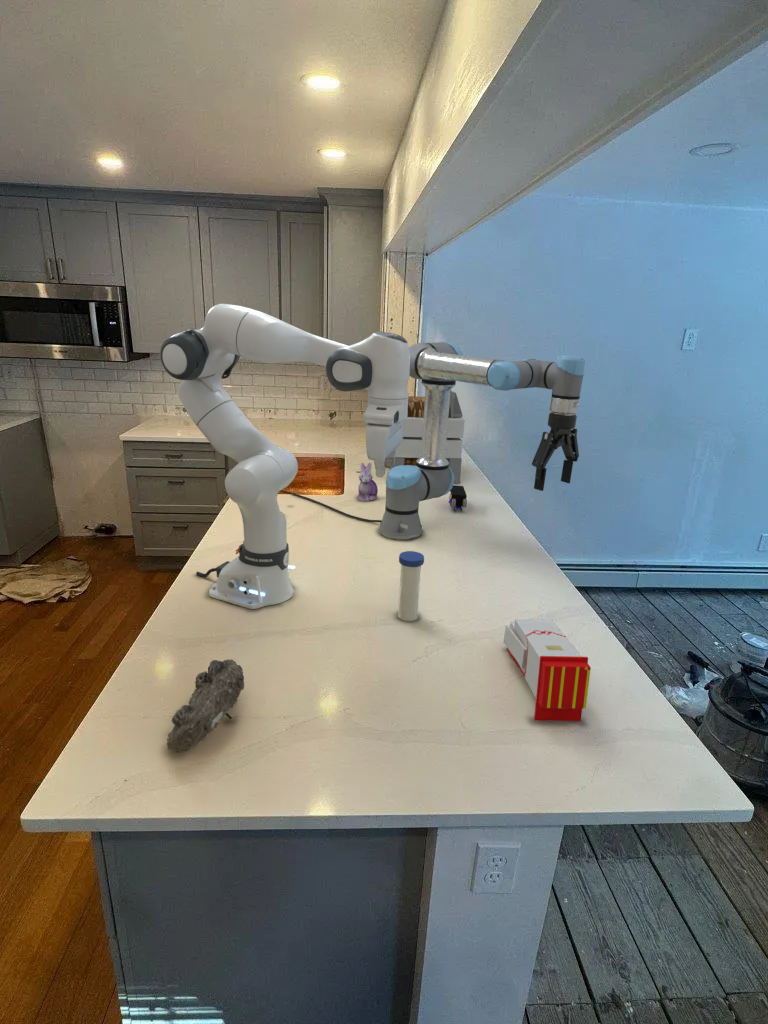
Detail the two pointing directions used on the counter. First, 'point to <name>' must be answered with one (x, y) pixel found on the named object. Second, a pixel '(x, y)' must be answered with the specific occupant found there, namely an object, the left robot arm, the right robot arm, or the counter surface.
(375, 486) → the figurine
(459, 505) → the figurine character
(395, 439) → the left robot arm
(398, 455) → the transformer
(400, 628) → the counter surface
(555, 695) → the toy
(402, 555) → the lid
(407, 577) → the jar
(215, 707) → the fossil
